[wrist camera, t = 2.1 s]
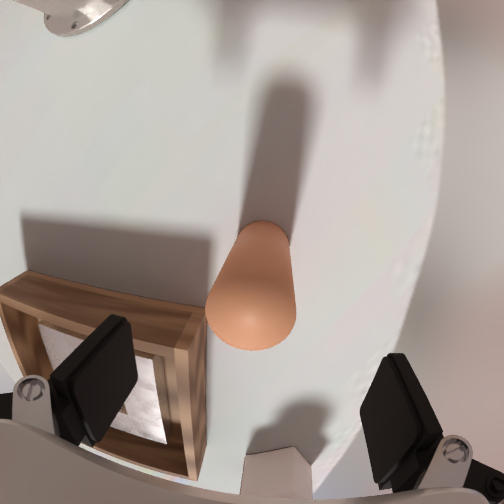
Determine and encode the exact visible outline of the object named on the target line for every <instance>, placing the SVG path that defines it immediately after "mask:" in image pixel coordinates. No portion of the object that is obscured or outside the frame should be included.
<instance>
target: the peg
mask: <svg viewBox="0 0 504 504" xmlns="http://www.w3.org/2000/svg"><path fill="white" fill-rule="evenodd" d="M205 313H206V318H207V321H208V324H209V326H210V328H211V329H212V331H213V332H214V333H215V334H216V335H217V336H218V337H219V338H220V339H221V340H222V341H224V342H225V343H227V344H229V345H231V346H233V347H235V348H239V349H243V350H251V351H252V350H263V349H267V348H270V347H273V346H275V345H277V344H279V343H280V342H281V341H283V340H284V339H285V338H286V337H287V336H288V335H289V334H290V332H291V330H292V329H293V326H294V324H295V320H296V304H295V294H294V285H293V276H292V267H291V258H290V249H289V242H288V238H287V236H286V234H285V232H284V231H283V230H282V229H281V228H280V227H279V226H278V225H276V224H274V223H272V222H268V221H256V222H253V223H250V224H248V225H247V226H246V227H244V228H243V229H242V231H241V232H240V233H239V235H238V237H237V239H236V241H235V243H234V245H233V247H232V249H231V251H230V253H229V255H228V257H227V259H226V261H225V263H224V265H223V267H222V269H221V271H220V273H219V275H218V277H217V279H216V281H215V283H214V285H213V287H212V289H211V291H210V293H209V295H208V297H207V300H206V305H205Z"/></svg>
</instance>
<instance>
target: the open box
mask: <svg viewBox="0 0 504 504" xmlns="http://www.w3.org/2000/svg"><path fill="white" fill-rule="evenodd" d="M111 314H115V315H119V316H123V317H125V318H126V319H127V321H128V322H130V324H131V330H132V338H133V345H134V349H135V350H139V351H143V352H147V353H151V354H155V355H160V356H163V361H164V371H165V379H166V388H167V395H168V403H169V410H170V416H171V423H172V429H173V430H172V432H171V435H170V438H169V440H168V443H167V444H164V443H160V442H157V441H153V440H150V439H146V438H143V437H140V436H137V435H134V434H131V433H128V432H125V431H122V430H119V429H116V428H113V427H111V426H110V427H109V428H108V430H107V432H106V433H105V435H104V437H103V438H102V440H101V441H100V442H96V443H95V445H94V446H93V448H94V449H96V450H98V451H101V452H103V453H105V454H108V455H110V456H113V457H116V458H118V459H121V460H124V461H126V462H129V463H132V464H135V465H138V466H141V467H144V468H147V469H151V470H154V471H157V472H161V473H165V474H168V475H172V476H176V477H180V478H184V479H189V480H193V481H198V477H199V473H200V469H201V465H202V461H203V457H204V453H205V449H206V335H207V318H206V313H205V308H202V307H195V306H189V305H183V304H178V303H172V302H166V301H161V300H155V299H150V298H145V297H140V296H135V295H130V294H125V293H120V292H115V291H111V290H106V289H101V288H97V287H93V286H88V285H84V284H80V283H75V282H71V281H67V280H63V279H59V278H55V277H51V276H48V275H44V274H40V273H36V272H33V271H29V270H27V271H25V272H24V273H22V274H20V275H19V276H17V277H15V278H13V279H12V280H10V281H9V282H7V283H5V284H4V285H2V286H0V317H1V320H2V323H3V326H4V329H5V332H6V335H7V338H8V340H9V343H10V346H11V348H12V351H13V353H14V356H15V358H16V361H17V363H18V365H19V368H20V370H21V372H22V374H23V377H25V376H29V375H38V376H41V377H43V378H44V379H46V381H48V379H49V378H50V376H49V375H50V374H51V373H52V372H53V371H54V370H53V368H52V365H51V362H50V360H49V357H48V354H47V351H46V348H45V345H44V342H43V339H42V336H41V333H40V329H39V326H38V323H39V322H40V321H41V320H44V321H47V322H49V323H52V324H55V325H57V326H60V327H63V328H66V329H69V330H72V331H74V332H77V333H80V334H84V335H87V336H89V335H90V334H91V333H92V332H93V331H94V330H95V329H96V328H97V327H98V326H99V325H100V324H101V323H102V322H103V321H104V320H105V319H106V318H107V317H108V316H109V315H111ZM81 443H82V442H81ZM82 444H84V443H82ZM85 445H86V444H85ZM87 446H88V445H87ZM89 447H90V446H89ZM91 448H92V447H91Z"/></svg>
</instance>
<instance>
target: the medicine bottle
mask: <svg viewBox="0 0 504 504" xmlns="http://www.w3.org/2000/svg"><path fill="white" fill-rule="evenodd" d="M240 495H244V496H252V497H262V498H275V499H295V500H313V498H312V497H313V495H312V470H311V466H310V465H309V463H308V462H307V461H306V460H305V459H304V457H303V456H302V455H301V454H300V453H299V451H298V450H297V449H296V448H295V447H288V448H284V449H279V450H274V451H269V452H263V453H257V454H251V455H246V456H245V460H244V467H243V474H242V481H241V489H240Z"/></svg>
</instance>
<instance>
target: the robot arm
mask: <svg viewBox="0 0 504 504" xmlns="http://www.w3.org/2000/svg"><path fill="white" fill-rule="evenodd" d="M13 1H16V2H19V3H21V4H24V5H27V6H29V7H32V8H34V9H37V10H39V11H41V12H44V23H45V26H46V28H47V29H48V30H49V31H50V32H51V33H53V34H56V35H58V36H63V37H65V36H73V35H77V34H80V33H83V32H85V31H87V30H89V29H91V28H93V27H95V26H96V25H98V24H100V23H101V22H103V21H104V20H106V19H107V18H108V17H110V16H111V15H112V14H114V13H115V12H116V11H117V10H118V9H119V8H121V7H122V6H123V5H124V4H125V3H126V2H127V1H128V0H13ZM49 376H50V378H49V379H48V381H46V379H44V378H43V377H41V376H38V375H29V376H25V377H23V378H21V379H20V380H19V381H17V383H16V384H15V386H14V389H13V392H12V393H4V394H0V504H504V474H503V473H501V472H500V471H498V470H495V469H493V468H491V467H488V466H486V465H484V464H482V463H480V462H478V461H476V460H474V459H472V455H473V451H472V447H471V445H470V444H469V442H468V441H467V440H466V439H464V438H462V437H461V436H457V435H449V436H446V437H443V434H442V432H443V430H442V428H441V426H440V424H439V422H438V419H437V417H436V415H435V413H434V411H433V409H432V407H431V405H430V403H429V400H428V398H427V396H426V394H425V392H424V391H423V388H422V387H421V385H420V383H419V381H418V379H417V377H416V375H415V373H414V371H413V369H412V367H411V365H410V364H409V362H408V360H407V358H406V356H405V355H404V354H403V353H389V354H388V355H387V357H384V358H383V359H382V361H381V363H380V366H379V368H378V370H377V373H376V375H375V377H374V379H373V382H372V384H371V386H370V388H369V390H368V393H367V395H366V397H365V399H364V401H363V403H362V405H361V408H360V417H361V421H362V426H363V430H364V434H365V439H366V443H367V448H368V453H369V458H370V463H371V468H372V473H373V478H374V482H375V483H378V485H379V490H384V489H390V488H392V491H393V493H391V494H385V495H377V496H368V497H358V498H346V499H325V500H295V499H275V498H262V497H252V496H244V495H236V494H230V493H223V492H218V491H212V490H207V489H202V488H197V487H193V486H189V485H184V484H180V483H177V482H173V481H169V480H165V479H162V478H159V477H155V476H152V475H149V474H146V473H143V472H140V471H137V470H134V469H131V468H128V467H126V466H123V465H120V464H118V463H115V462H113V461H110V460H108V459H106V458H103V457H101V456H98V455H96V454H94V453H91V452H89V451H87V450H85V449H83V448H80V447H78V446H79V444H80V443H81V442H82V443H84V444H86V445H88V446H90V447H92V448H93V446H94V445H95V443H96V442H100V441H101V440H102V438H103V437H104V435H105V433H106V432H107V430H108V428H109V427H110V425H111V424H112V422H113V420H114V419H115V417H116V415H117V414H118V412H119V410H120V409H121V407H122V406H123V404H124V402H125V401H126V399H127V398H128V396H129V394H130V393H131V391H132V390H133V388H134V386H135V385H136V383H137V380H138V371H137V365H136V359H135V352H134V345H133V338H132V330H131V324H130V322H128V321H127V319H126V318H125V317H123V316H119V315H115V314H111V315H109V316H108V317H107V318H106V319H105V320H104V321H103V322H102V323H101V324H100V325H99V326H98V327H97V328H96V329H95V330H94V331H93V332H92V333H91V334H90V335H89V336H88V337H87V338H86V339H85V340H84V341H83V342H82V343H81V344H80V345H79V346H78V347H77V348H76V349H75V350H74V351H73V352H72V353H71V354H70V355H69V356H68V357H67V358H66V359H65V360H64V361H63V362H62V363H61V364H60V365H59V366H58V367H57V368H56V369H55V370H54V371H53V372H52V373H51V374H50V375H49Z"/></svg>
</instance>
